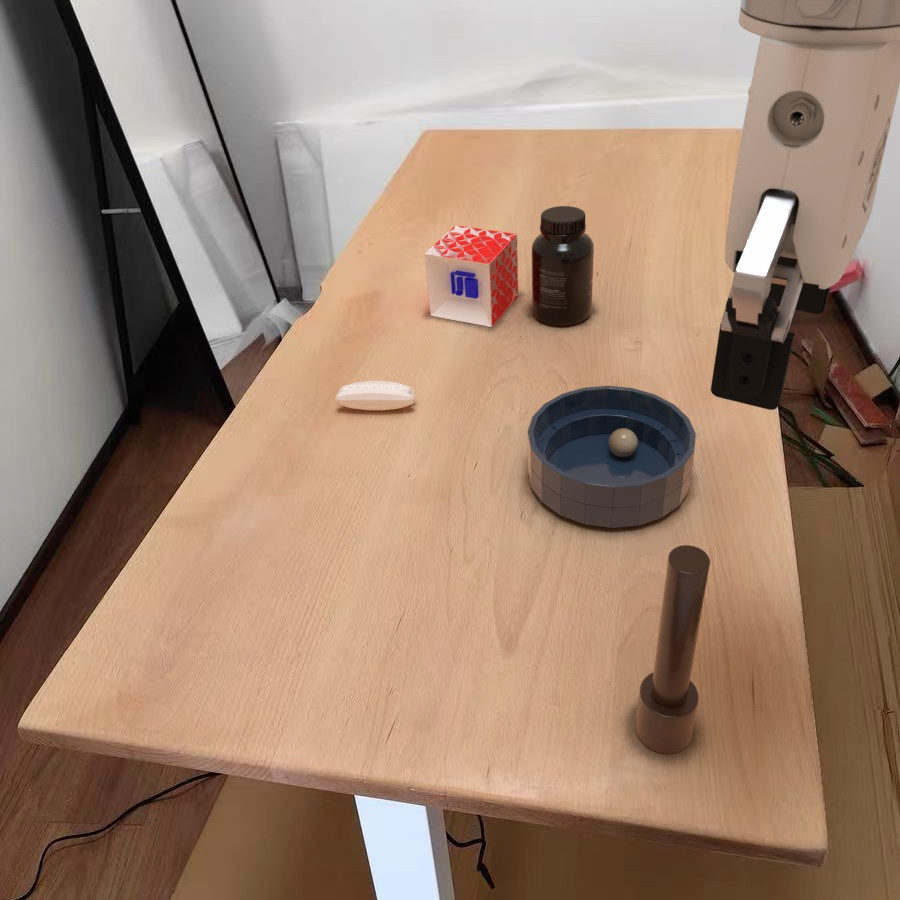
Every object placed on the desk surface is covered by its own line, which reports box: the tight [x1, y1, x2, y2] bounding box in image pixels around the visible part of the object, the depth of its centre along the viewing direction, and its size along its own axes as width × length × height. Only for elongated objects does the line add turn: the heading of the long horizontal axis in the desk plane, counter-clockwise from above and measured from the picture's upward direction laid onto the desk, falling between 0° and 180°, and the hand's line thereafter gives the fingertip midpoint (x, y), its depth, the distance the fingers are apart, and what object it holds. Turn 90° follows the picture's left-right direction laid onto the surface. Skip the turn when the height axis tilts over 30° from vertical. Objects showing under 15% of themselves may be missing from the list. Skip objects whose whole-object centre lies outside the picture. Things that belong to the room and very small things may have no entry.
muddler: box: [635, 544, 711, 755], centre depth 52 cm, size 4×4×16 cm
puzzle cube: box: [424, 224, 519, 328], centre depth 100 cm, size 8×8×8 cm
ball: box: [609, 428, 638, 457], centre depth 78 cm, size 3×3×3 cm
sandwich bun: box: [334, 380, 416, 412], centre depth 87 cm, size 3×8×3 cm, turn 84°
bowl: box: [527, 385, 697, 529], centre depth 75 cm, size 14×14×5 cm
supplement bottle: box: [531, 205, 595, 327], centre depth 96 cm, size 7×7×12 cm
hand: (770, 350), depth 45 cm, fingers open, 9 cm apart
